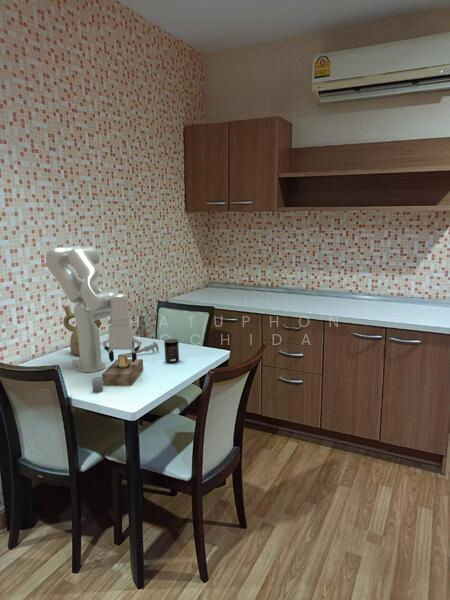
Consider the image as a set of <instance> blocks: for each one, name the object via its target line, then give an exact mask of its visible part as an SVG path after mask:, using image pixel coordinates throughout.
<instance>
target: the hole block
mask: <svg viewBox="0 0 450 600" xmlns="http://www.w3.org/2000/svg"><path fill="white" fill-rule="evenodd" d="M143 371H144V360H143V359H141V358H138V359H136V360H135V361H134V362H132V358H128V368H119V364H118V358H117V359H115V360H114V362H112V363H111V365H110V366H108V368H106V369H105V371H104V372H102V374H101V376H102V377H101V378H102V382H103V386H116V387H117V386H120V387H121V386H125V387H126V386H128V387H129V386H133V384H134V383H135V382H136V380H137V379H138V378H139V376H140V375H141V374H142V373H143Z"/></svg>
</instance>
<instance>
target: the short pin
mask: <svg viewBox="0 0 450 600" xmlns="http://www.w3.org/2000/svg"><path fill="white" fill-rule="evenodd" d="M91 386H92V393H95V394H96V393H97V394H99V393H102V392H104V385H103V379H102V377H98V376H97V377H94V378H93V377H92V379H91Z"/></svg>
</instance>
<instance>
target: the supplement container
mask: <svg viewBox="0 0 450 600" xmlns="http://www.w3.org/2000/svg"><path fill="white" fill-rule="evenodd" d="M163 344H164V345H163V346H164V361H165V363H166V364H170V365H171V364H176V363H177V364H178V363H179V361H180V352H179V349H180V346H179V339H177V338H168V339H165V340H164V341H163Z"/></svg>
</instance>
